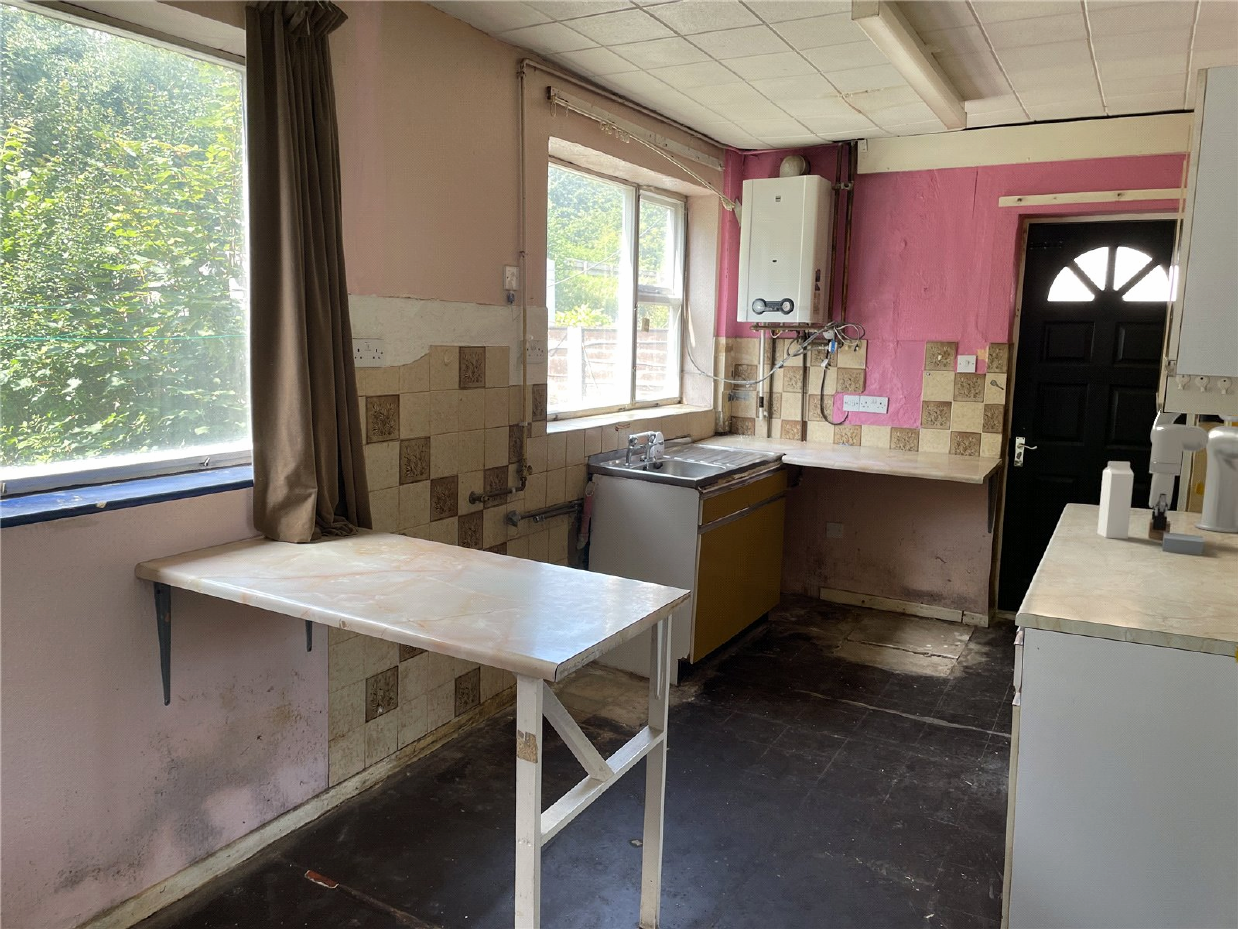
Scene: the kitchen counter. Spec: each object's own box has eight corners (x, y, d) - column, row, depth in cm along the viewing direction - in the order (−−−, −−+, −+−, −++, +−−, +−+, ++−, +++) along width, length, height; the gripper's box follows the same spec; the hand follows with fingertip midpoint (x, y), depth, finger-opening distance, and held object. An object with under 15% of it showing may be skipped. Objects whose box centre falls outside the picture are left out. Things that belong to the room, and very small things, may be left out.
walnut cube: (1167, 538, 254) (1169, 521, 253) (1168, 541, 250) (1170, 524, 249) (1147, 535, 256) (1149, 519, 256) (1148, 539, 252) (1150, 522, 251)
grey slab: (1200, 550, 239) (1202, 536, 239) (1202, 556, 232) (1203, 542, 231) (1162, 546, 244) (1163, 532, 243) (1162, 552, 236) (1163, 537, 236)
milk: (1127, 539, 251) (1135, 463, 248) (1105, 538, 252) (1113, 462, 249) (1118, 534, 257) (1125, 460, 254) (1096, 533, 258) (1103, 459, 255)
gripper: (1148, 464, 260) (1142, 521, 262) (1150, 470, 245) (1144, 530, 247) (1178, 467, 256) (1171, 524, 258) (1182, 473, 241) (1175, 533, 243)
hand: (1158, 527), depth 252 cm, fingers open, 9 cm apart
